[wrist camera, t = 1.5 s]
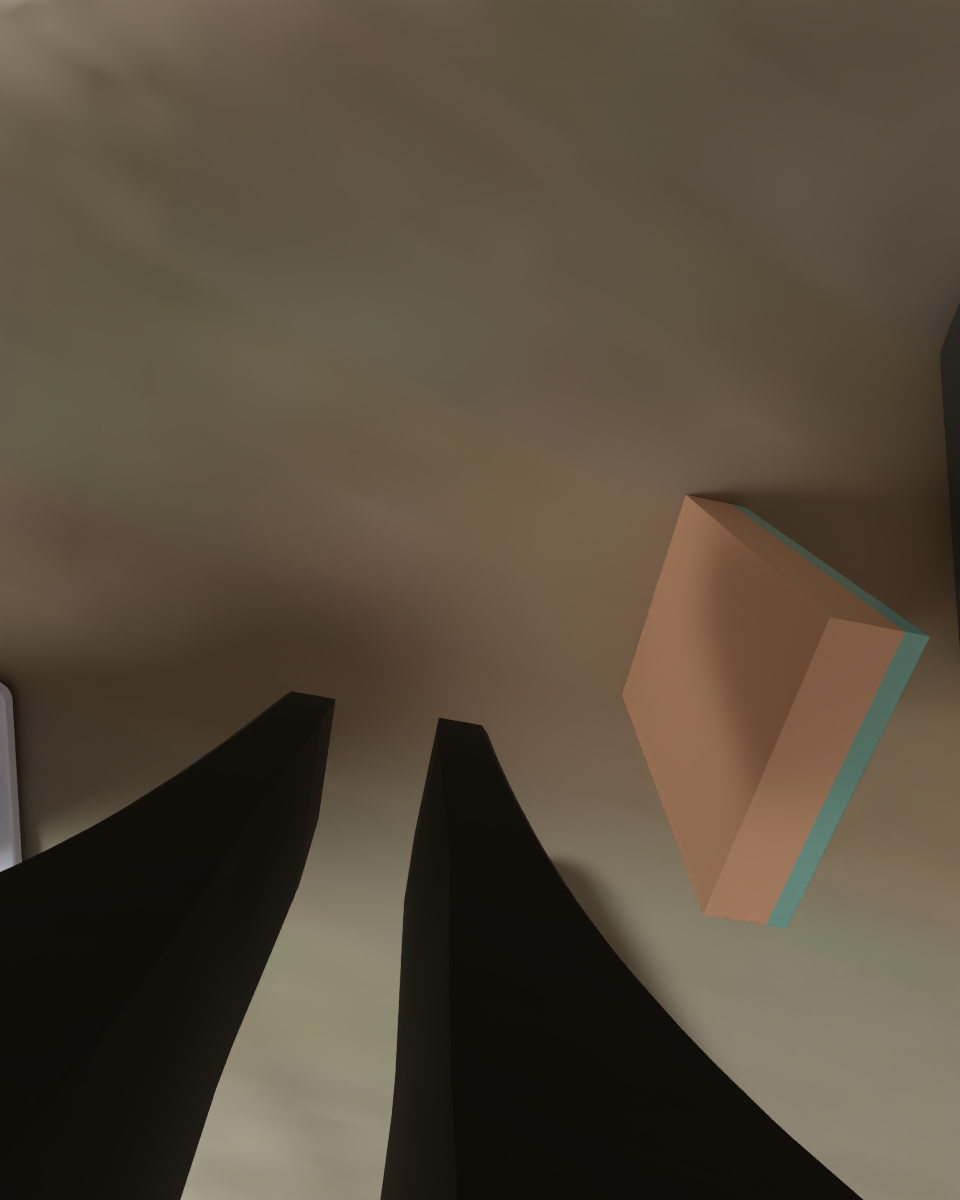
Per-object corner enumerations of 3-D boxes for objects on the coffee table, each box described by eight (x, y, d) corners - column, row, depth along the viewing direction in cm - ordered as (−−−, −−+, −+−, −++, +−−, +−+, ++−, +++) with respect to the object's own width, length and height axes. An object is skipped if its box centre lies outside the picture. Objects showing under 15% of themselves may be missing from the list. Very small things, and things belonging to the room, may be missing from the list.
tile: (621, 694, 20) (703, 914, 12) (685, 494, 18) (830, 617, 10) (675, 704, 20) (786, 928, 13) (744, 507, 18) (930, 637, 10)
